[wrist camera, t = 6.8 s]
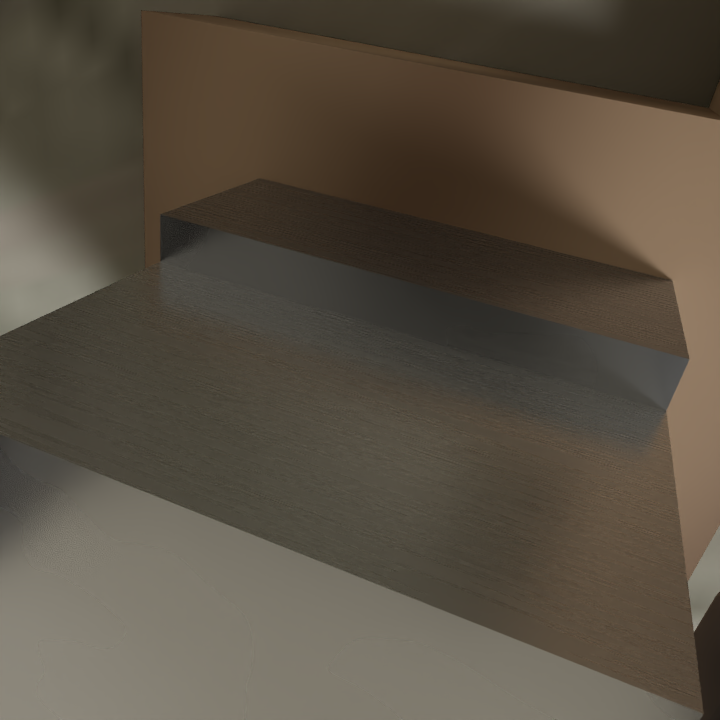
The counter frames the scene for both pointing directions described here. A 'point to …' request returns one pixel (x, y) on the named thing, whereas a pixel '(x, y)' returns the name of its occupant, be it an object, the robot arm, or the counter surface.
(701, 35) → the counter surface
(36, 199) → the counter surface
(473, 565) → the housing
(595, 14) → the counter surface
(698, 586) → the counter surface
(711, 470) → the stand
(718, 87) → the stand
